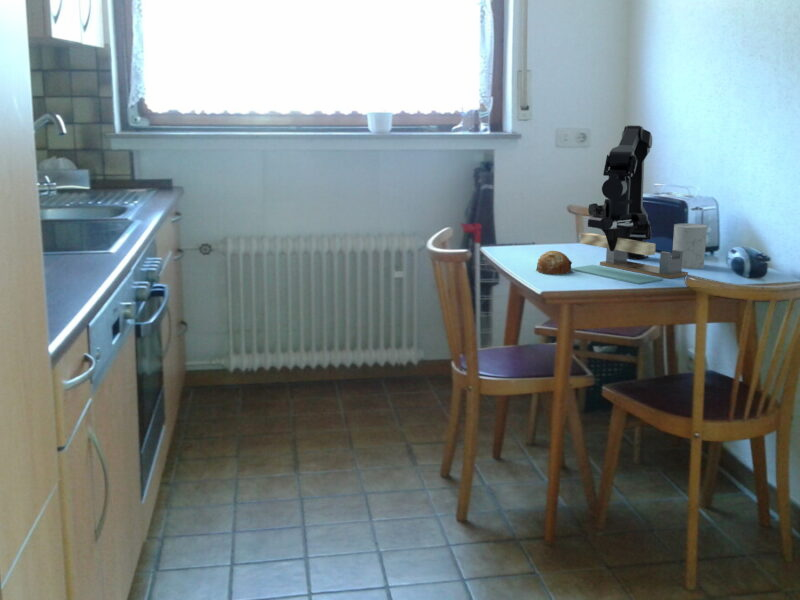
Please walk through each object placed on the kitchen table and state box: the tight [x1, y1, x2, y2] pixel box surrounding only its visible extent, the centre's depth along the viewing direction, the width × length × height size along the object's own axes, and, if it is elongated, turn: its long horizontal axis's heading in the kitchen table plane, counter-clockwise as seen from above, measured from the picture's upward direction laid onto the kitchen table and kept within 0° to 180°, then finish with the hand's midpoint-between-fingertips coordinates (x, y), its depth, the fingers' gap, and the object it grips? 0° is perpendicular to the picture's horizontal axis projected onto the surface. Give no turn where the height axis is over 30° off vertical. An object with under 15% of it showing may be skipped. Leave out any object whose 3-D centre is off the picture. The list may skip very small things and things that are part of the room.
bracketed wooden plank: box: [599, 248, 689, 280], centre depth 260 cm, size 26×8×7 cm, turn 35°
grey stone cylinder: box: [672, 222, 708, 270], centre depth 266 cm, size 10×10×12 cm
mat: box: [571, 264, 664, 285], centre depth 254 cm, size 10×26×1 cm, turn 35°
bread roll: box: [535, 250, 573, 275], centre depth 258 cm, size 10×10×8 cm
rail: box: [579, 232, 657, 257], centre depth 252 cm, size 25×3×3 cm, turn 35°
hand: (616, 250), depth 252 cm, fingers closed on rail, 3 cm apart
